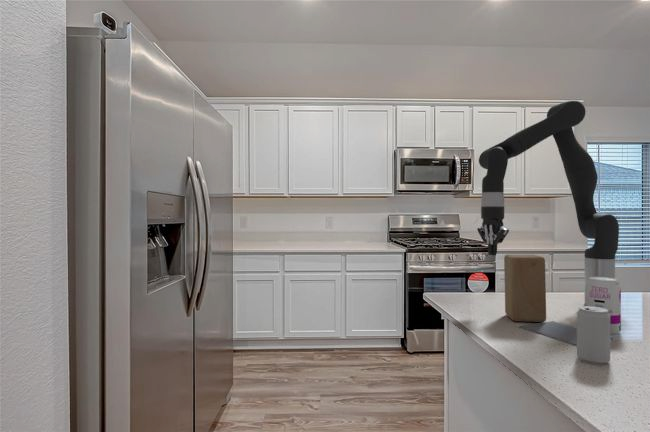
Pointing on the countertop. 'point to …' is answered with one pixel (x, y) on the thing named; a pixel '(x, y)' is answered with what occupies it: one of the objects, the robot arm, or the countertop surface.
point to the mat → (555, 331)
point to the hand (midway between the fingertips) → (492, 255)
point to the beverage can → (593, 335)
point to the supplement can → (606, 299)
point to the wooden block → (525, 288)
